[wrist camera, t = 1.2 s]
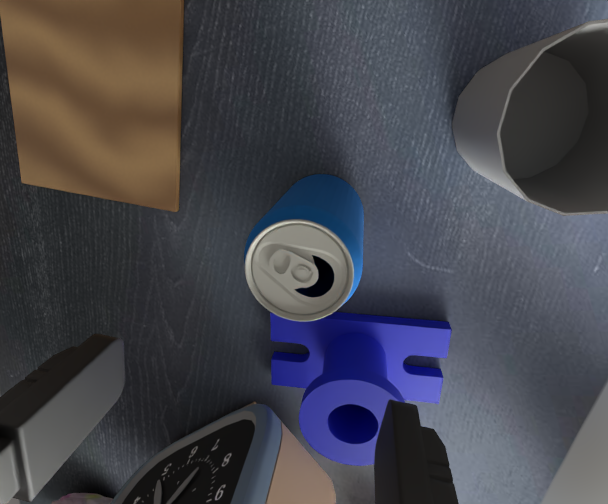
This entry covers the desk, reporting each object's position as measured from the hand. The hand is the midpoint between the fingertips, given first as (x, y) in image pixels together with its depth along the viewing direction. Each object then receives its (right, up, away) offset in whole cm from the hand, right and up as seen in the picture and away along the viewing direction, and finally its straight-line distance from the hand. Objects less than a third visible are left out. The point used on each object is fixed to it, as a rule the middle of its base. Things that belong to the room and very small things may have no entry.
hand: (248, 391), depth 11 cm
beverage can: (+3, +7, +19) cm, 21 cm away
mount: (+6, -5, +23) cm, 25 cm away
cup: (+16, +13, +15) cm, 26 cm away
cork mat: (-15, +16, +19) cm, 29 cm away
